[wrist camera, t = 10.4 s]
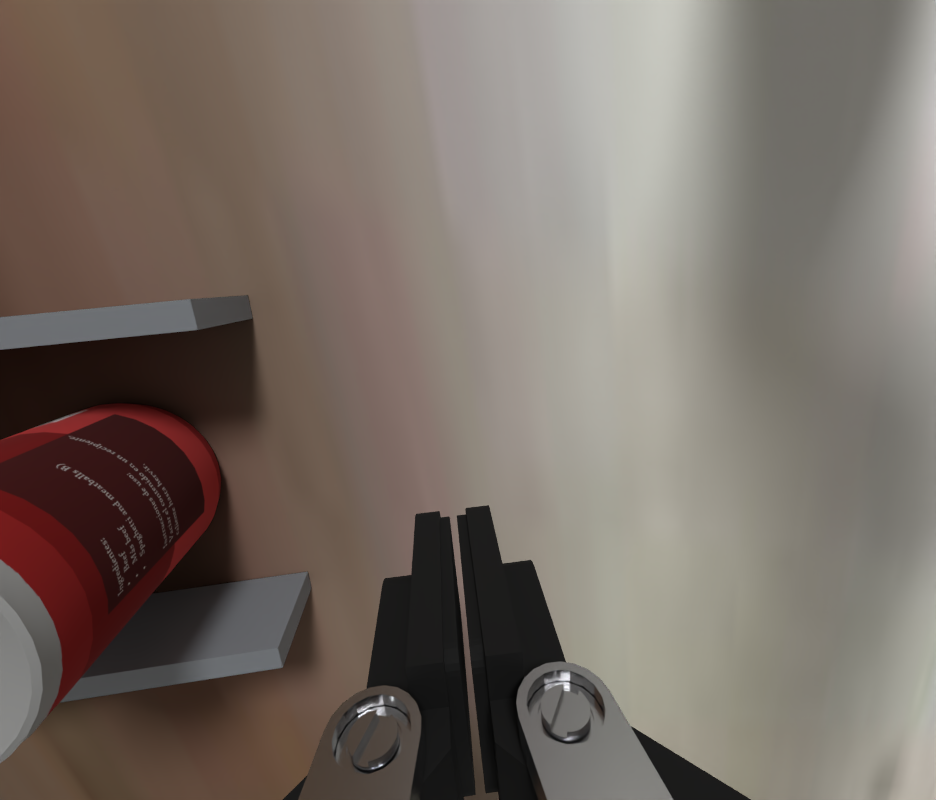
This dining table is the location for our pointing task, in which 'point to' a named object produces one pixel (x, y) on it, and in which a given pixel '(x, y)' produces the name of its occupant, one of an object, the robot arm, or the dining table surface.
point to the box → (188, 610)
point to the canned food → (88, 542)
